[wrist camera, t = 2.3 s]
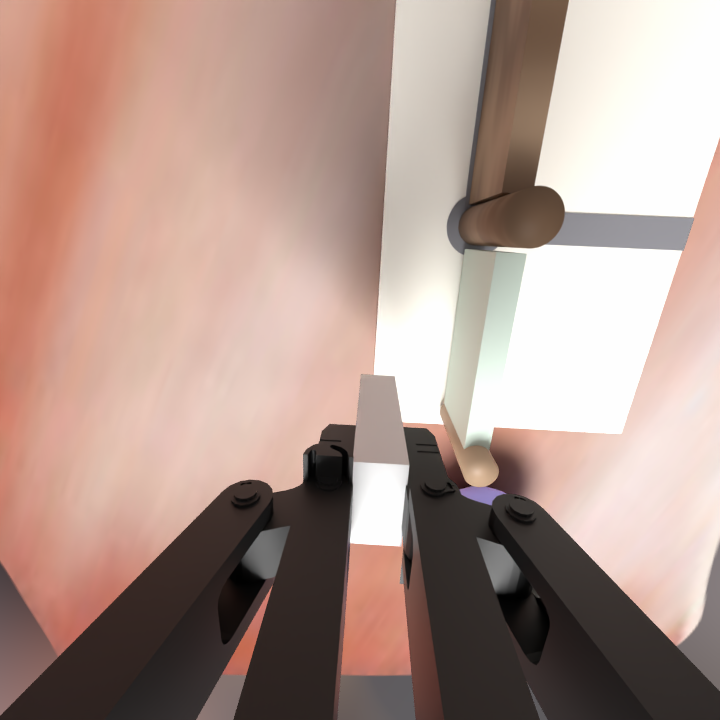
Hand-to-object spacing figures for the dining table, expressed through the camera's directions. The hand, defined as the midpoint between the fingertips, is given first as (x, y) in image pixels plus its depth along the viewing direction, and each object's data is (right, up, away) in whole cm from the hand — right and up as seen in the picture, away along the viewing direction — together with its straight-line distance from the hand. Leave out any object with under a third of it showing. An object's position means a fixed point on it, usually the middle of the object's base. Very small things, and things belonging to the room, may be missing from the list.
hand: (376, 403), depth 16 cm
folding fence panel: (+5, +3, +5) cm, 8 cm away
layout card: (+9, +10, +3) cm, 14 cm away
